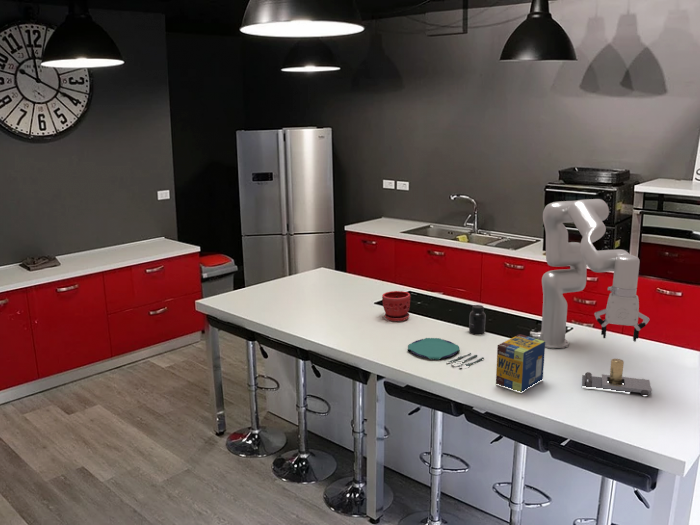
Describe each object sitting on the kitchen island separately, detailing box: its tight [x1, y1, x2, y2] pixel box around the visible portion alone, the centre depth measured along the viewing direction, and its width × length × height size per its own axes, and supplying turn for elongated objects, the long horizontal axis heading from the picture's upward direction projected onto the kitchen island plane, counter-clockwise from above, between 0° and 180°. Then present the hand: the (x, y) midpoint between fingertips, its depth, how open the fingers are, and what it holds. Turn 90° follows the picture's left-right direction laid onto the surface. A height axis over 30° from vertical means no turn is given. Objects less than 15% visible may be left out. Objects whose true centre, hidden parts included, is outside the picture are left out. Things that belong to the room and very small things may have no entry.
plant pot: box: [381, 290, 411, 322], centre depth 293 cm, size 13×13×12 cm
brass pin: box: [609, 358, 625, 385], centre depth 219 cm, size 4×4×10 cm
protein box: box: [495, 333, 546, 392], centre depth 223 cm, size 10×15×16 cm
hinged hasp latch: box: [581, 371, 652, 396], centre depth 219 cm, size 22×10×2 cm, turn 69°
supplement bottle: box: [468, 304, 487, 335], centre depth 274 cm, size 7×7×12 cm
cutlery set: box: [407, 337, 485, 367], centre depth 251 cm, size 20×30×2 cm, turn 40°
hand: (619, 338), depth 216 cm, fingers open, 9 cm apart
